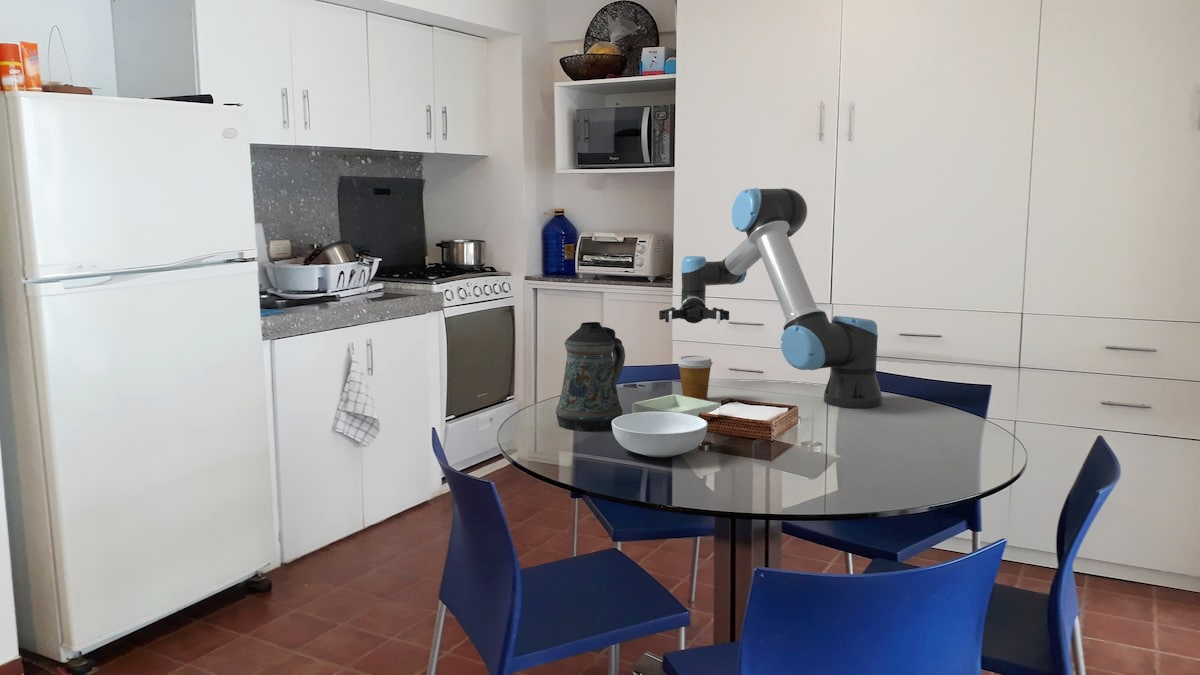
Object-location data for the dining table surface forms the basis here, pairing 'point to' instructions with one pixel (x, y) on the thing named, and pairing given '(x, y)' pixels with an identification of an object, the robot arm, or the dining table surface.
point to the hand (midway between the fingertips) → (694, 318)
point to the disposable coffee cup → (695, 376)
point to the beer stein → (591, 379)
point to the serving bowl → (659, 433)
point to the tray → (675, 405)
